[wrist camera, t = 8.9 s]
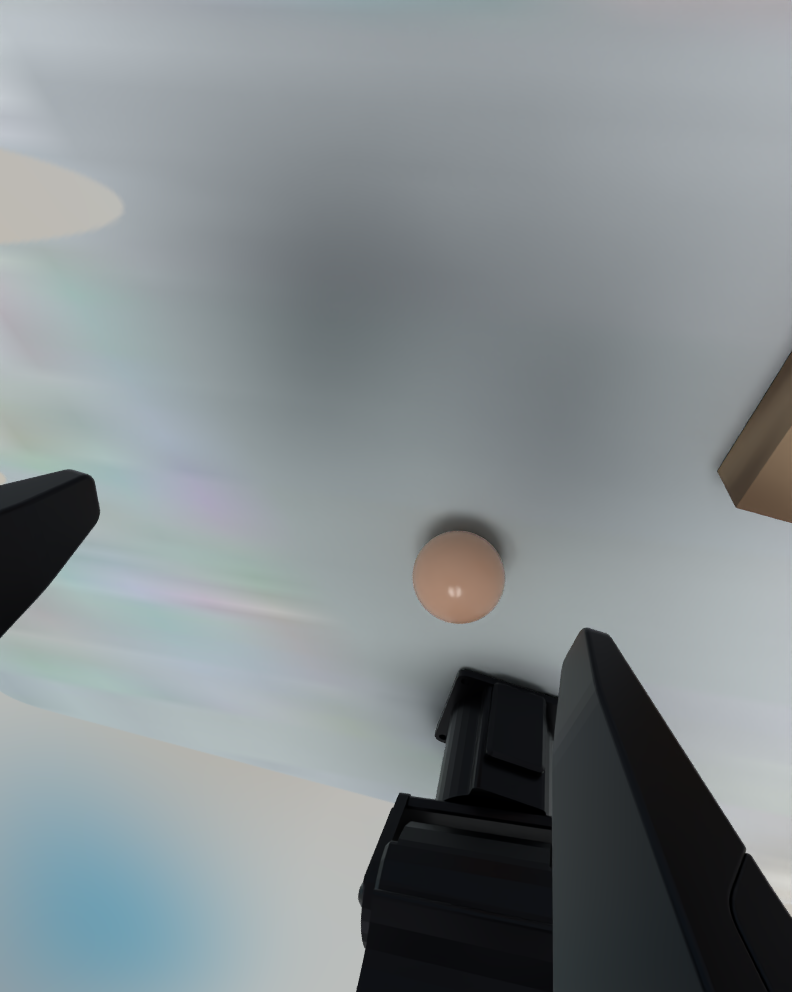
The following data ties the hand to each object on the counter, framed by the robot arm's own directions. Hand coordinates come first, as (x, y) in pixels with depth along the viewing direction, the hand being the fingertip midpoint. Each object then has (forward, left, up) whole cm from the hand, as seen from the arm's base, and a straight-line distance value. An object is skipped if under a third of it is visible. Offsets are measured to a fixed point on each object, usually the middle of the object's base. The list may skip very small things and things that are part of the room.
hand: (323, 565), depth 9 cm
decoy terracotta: (-9, -3, -11) cm, 15 cm away
